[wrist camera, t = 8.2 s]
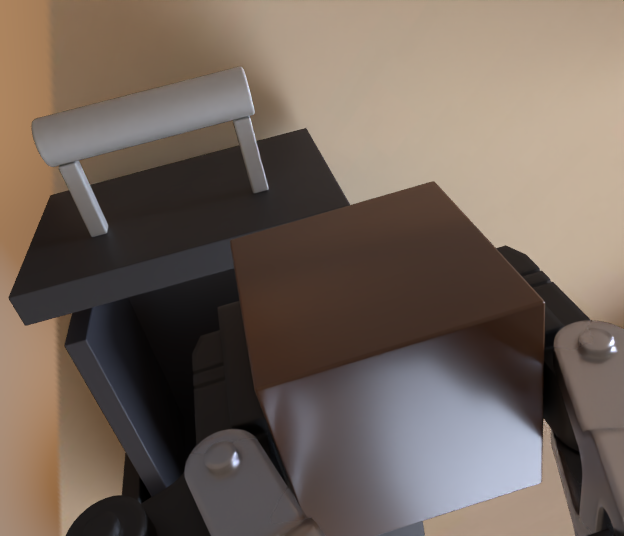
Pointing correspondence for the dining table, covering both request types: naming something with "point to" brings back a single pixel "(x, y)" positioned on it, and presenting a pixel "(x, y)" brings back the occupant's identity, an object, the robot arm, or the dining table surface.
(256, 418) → the robot arm
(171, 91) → the drawer
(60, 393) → the dining table surface
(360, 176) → the dining table surface
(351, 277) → the block
